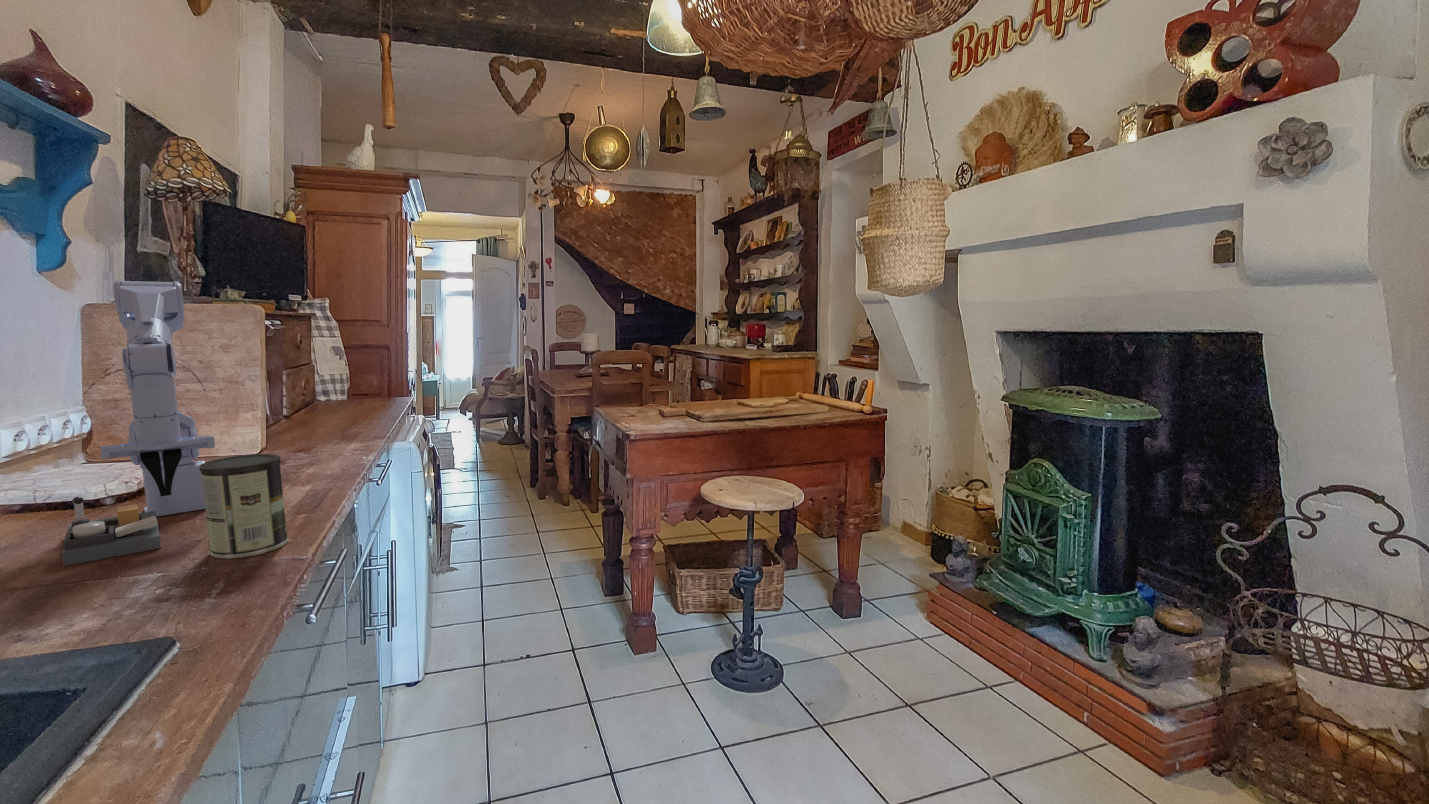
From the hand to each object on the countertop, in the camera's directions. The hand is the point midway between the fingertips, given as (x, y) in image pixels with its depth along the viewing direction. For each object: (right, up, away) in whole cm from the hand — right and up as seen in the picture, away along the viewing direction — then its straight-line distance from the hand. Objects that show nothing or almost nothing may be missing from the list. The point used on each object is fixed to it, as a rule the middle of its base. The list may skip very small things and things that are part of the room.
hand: (165, 494), depth 111 cm
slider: (-4, -5, -3) cm, 7 cm away
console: (-5, -7, -4) cm, 10 cm away
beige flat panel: (+1, -5, -7) cm, 8 cm away
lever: (-12, -4, -3) cm, 13 cm away
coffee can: (+19, -8, -7) cm, 22 cm away
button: (-3, -5, -10) cm, 12 cm away
